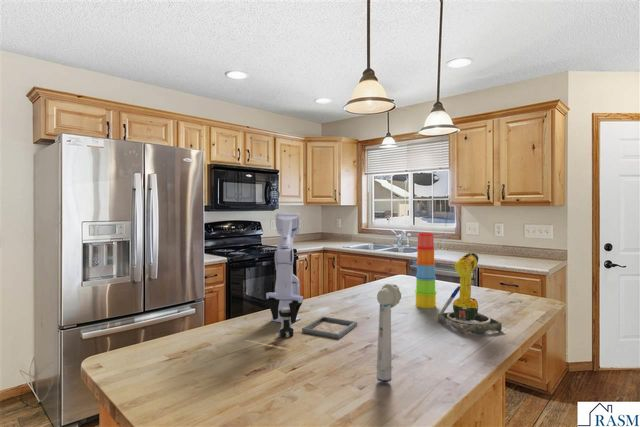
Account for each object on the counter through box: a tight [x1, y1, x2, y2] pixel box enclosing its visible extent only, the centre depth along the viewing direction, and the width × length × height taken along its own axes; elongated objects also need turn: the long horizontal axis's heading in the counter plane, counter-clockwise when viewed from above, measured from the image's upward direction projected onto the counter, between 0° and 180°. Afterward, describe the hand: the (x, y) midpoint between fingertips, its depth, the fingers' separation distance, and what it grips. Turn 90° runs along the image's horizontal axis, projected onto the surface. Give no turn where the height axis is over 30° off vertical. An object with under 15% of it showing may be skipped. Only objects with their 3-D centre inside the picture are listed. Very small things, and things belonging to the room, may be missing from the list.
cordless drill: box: [437, 252, 503, 335], centre depth 140 cm, size 18×19×28 cm
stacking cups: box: [414, 232, 438, 309], centre depth 167 cm, size 10×10×35 cm
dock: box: [301, 316, 358, 340], centre depth 137 cm, size 15×17×2 cm
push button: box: [275, 307, 294, 339], centre depth 128 cm, size 7×5×10 cm
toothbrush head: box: [375, 283, 402, 383], centre depth 96 cm, size 5×7×25 cm
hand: (284, 320), depth 128 cm, fingers open, 7 cm apart
